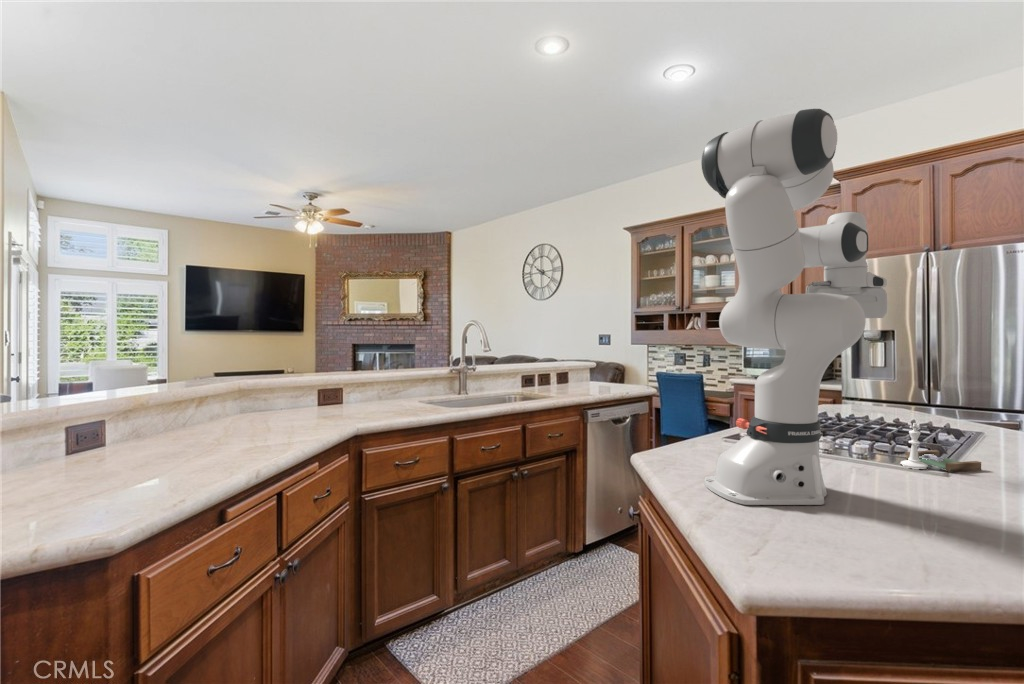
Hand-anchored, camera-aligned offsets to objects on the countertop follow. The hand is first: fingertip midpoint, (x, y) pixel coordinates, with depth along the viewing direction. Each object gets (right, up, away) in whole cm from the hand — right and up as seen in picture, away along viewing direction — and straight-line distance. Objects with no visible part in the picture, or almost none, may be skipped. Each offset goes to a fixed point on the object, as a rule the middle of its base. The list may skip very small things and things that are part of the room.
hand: (844, 337), depth 118 cm
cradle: (+17, -29, -8) cm, 35 cm away
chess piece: (+10, -30, -9) cm, 32 cm away
